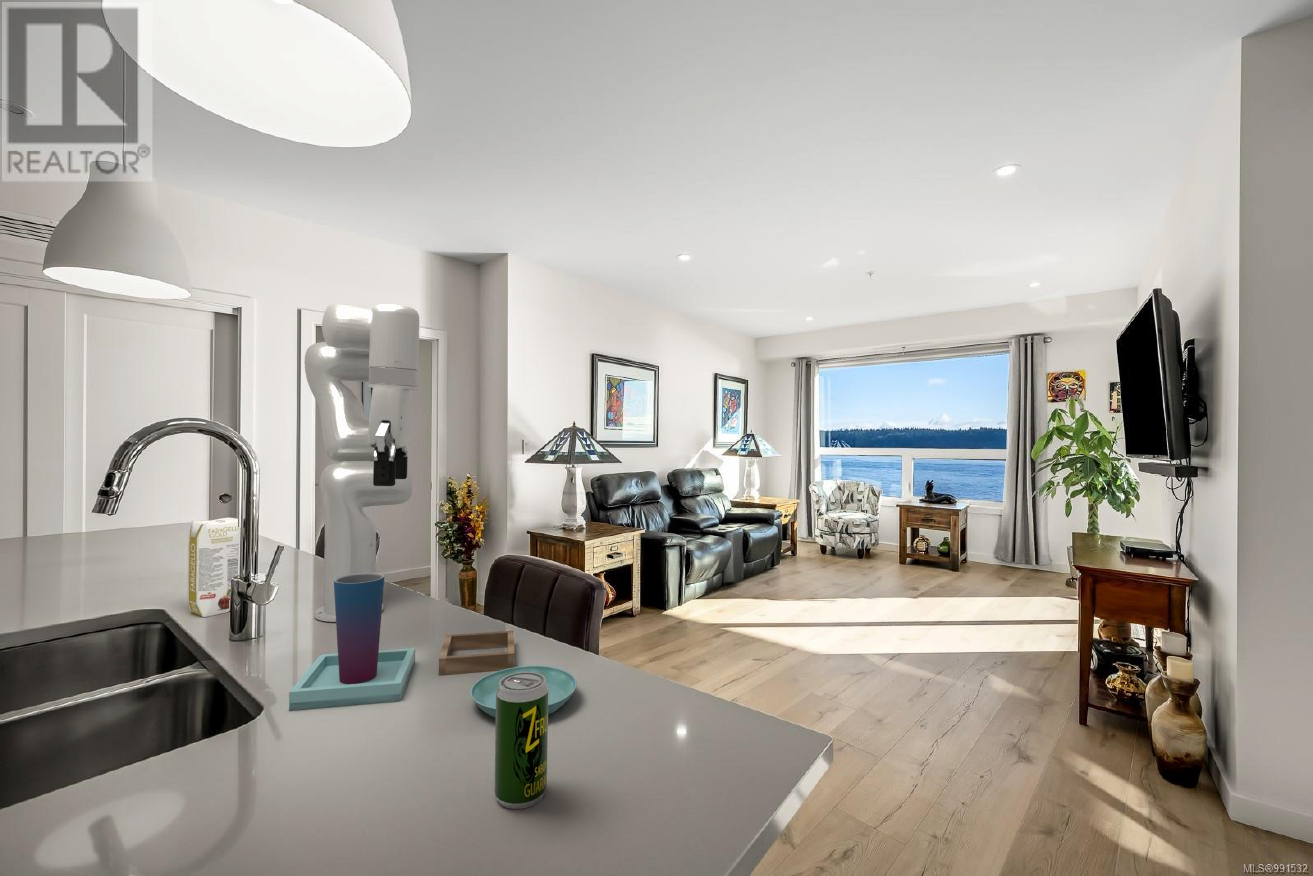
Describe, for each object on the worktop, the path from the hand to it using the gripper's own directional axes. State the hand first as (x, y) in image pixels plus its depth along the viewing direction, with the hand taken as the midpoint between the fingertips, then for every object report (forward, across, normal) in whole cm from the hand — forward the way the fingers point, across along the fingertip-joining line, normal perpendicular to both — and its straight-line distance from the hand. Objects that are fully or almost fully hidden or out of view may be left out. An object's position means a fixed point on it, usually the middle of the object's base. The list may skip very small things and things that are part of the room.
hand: (390, 482), depth 100 cm
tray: (+29, +12, -1) cm, 32 cm away
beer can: (+28, +44, +22) cm, 57 cm away
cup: (+28, +12, -2) cm, 31 cm away
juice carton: (+32, -32, -40) cm, 60 cm away
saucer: (+29, +22, +23) cm, 43 cm away
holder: (+29, +4, +15) cm, 33 cm away
